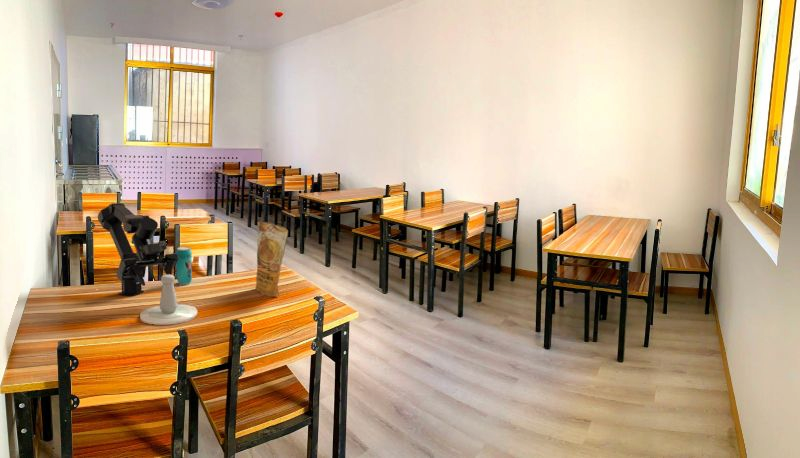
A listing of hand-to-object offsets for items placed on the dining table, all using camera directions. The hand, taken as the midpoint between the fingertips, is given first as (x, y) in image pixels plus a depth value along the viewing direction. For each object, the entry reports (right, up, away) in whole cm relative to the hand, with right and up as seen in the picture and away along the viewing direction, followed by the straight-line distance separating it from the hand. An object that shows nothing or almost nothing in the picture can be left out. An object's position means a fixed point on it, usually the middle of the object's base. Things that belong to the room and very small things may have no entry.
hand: (157, 283), depth 185 cm
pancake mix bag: (+32, -7, +28) cm, 43 cm away
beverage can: (-5, -4, +34) cm, 35 cm away
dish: (+6, -11, -4) cm, 13 cm away
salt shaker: (+6, -10, -4) cm, 12 cm away
